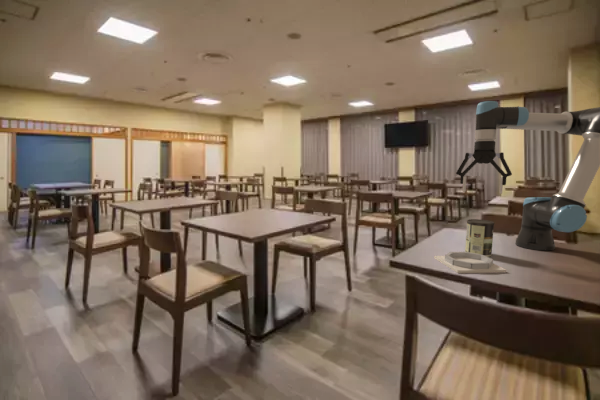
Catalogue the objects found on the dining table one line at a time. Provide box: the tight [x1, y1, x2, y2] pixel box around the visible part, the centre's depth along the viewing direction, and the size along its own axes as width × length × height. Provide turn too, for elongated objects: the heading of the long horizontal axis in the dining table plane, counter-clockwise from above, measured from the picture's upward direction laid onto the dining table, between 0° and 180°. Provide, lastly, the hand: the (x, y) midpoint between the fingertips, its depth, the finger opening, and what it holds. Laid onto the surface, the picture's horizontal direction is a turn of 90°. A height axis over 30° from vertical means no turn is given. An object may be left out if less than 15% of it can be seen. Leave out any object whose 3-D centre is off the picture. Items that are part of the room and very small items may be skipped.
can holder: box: [433, 251, 507, 274], centre depth 131 cm, size 18×18×3 cm
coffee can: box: [464, 218, 495, 258], centre depth 146 cm, size 10×10×14 cm
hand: (481, 192), depth 143 cm, fingers open, 13 cm apart
